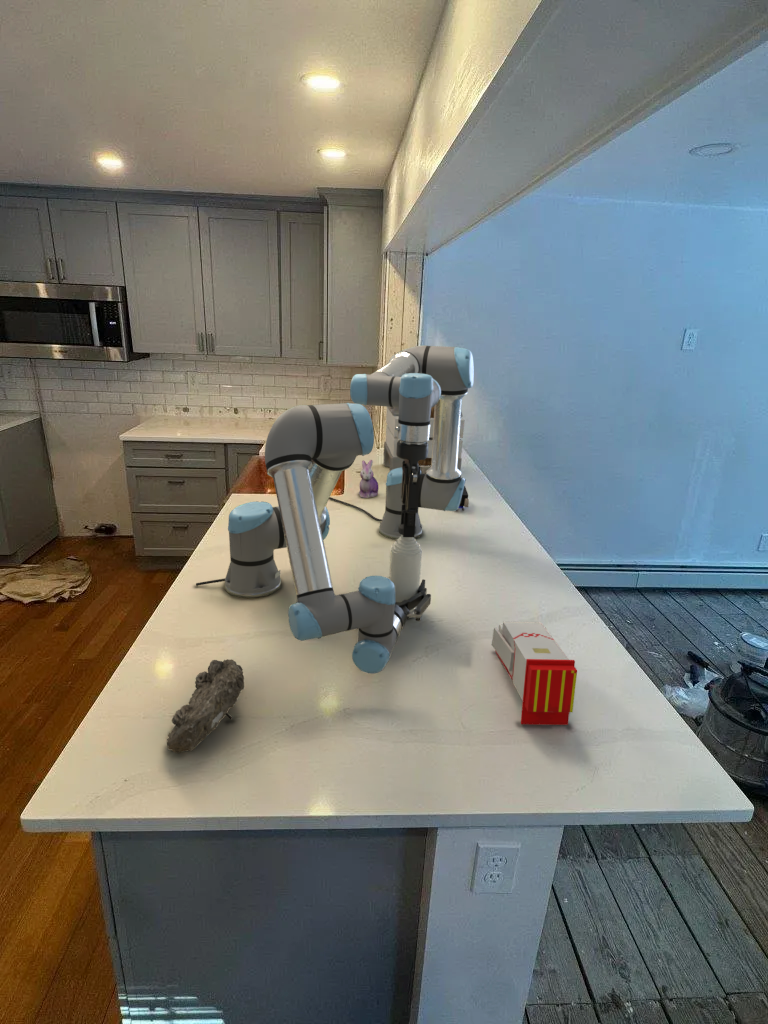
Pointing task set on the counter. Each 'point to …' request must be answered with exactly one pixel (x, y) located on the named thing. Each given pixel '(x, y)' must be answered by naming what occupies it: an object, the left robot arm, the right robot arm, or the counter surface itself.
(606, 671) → the counter surface
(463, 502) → the figurine character
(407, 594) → the bottle
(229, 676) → the fossil
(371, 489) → the figurine
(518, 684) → the toy
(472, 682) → the counter surface
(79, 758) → the counter surface
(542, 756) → the counter surface
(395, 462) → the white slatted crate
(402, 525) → the cap
